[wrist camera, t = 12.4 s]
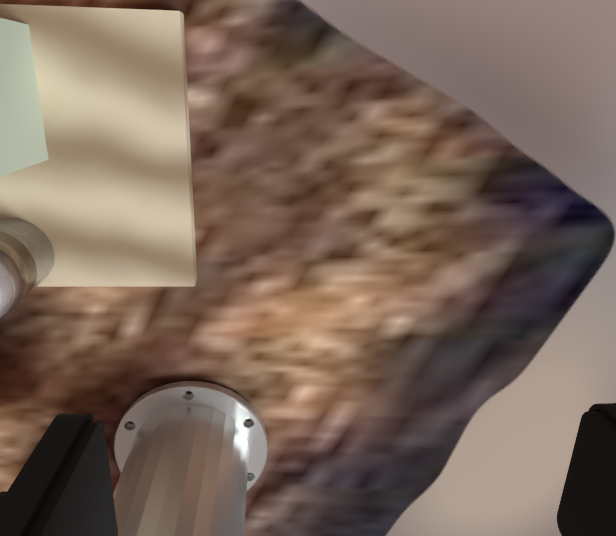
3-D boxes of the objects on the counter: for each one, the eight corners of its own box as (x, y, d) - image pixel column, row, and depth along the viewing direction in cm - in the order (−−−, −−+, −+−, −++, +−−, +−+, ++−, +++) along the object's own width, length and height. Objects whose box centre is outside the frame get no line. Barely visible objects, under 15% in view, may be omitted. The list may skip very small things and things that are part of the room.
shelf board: (197, 278, 38) (190, 297, 35) (-25, 278, 37) (-54, 297, 34) (183, 14, 32) (173, 6, 29) (-83, 3, 31) (-125, -6, 28)
